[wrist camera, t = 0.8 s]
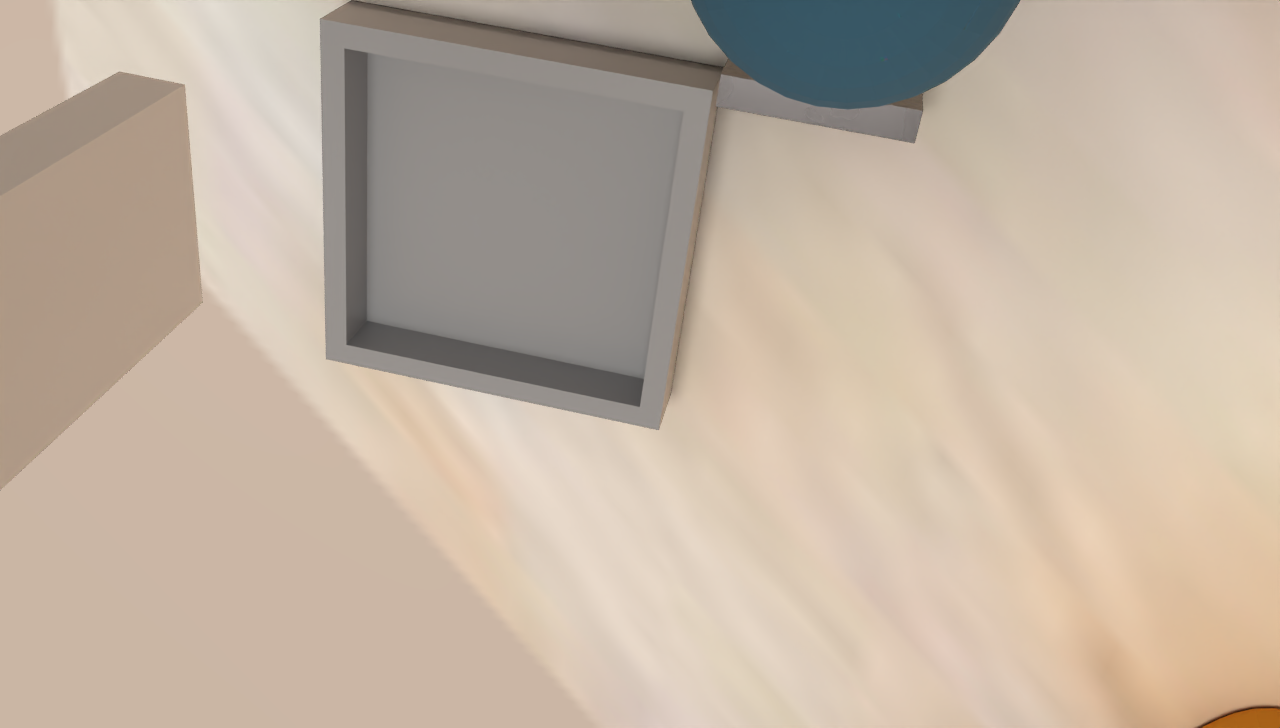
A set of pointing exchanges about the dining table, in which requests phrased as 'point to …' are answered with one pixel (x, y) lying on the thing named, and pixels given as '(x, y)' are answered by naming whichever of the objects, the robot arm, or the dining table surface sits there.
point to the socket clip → (819, 108)
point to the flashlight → (1249, 719)
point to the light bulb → (852, 44)
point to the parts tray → (510, 208)
